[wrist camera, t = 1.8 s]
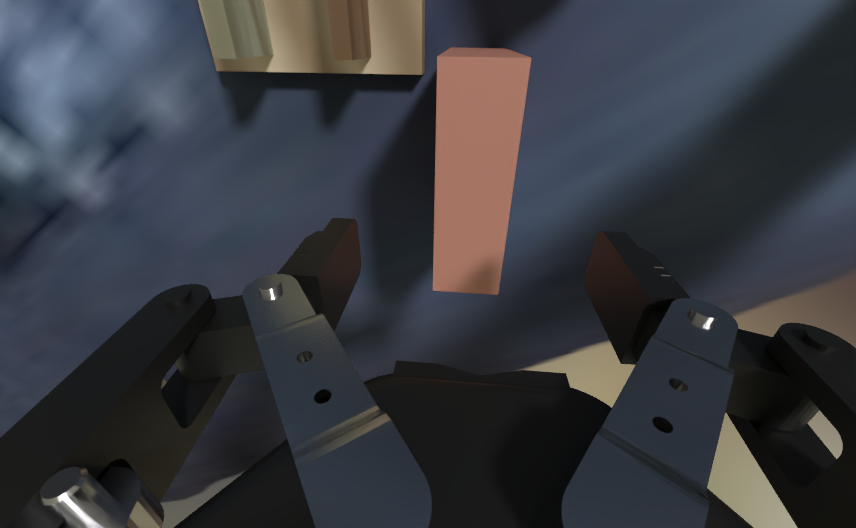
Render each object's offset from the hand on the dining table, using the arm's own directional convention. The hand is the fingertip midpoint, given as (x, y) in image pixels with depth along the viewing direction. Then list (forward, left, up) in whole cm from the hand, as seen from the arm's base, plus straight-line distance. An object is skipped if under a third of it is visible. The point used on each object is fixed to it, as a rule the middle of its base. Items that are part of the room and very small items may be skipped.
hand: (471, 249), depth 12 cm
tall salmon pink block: (0, 0, -17) cm, 17 cm away
